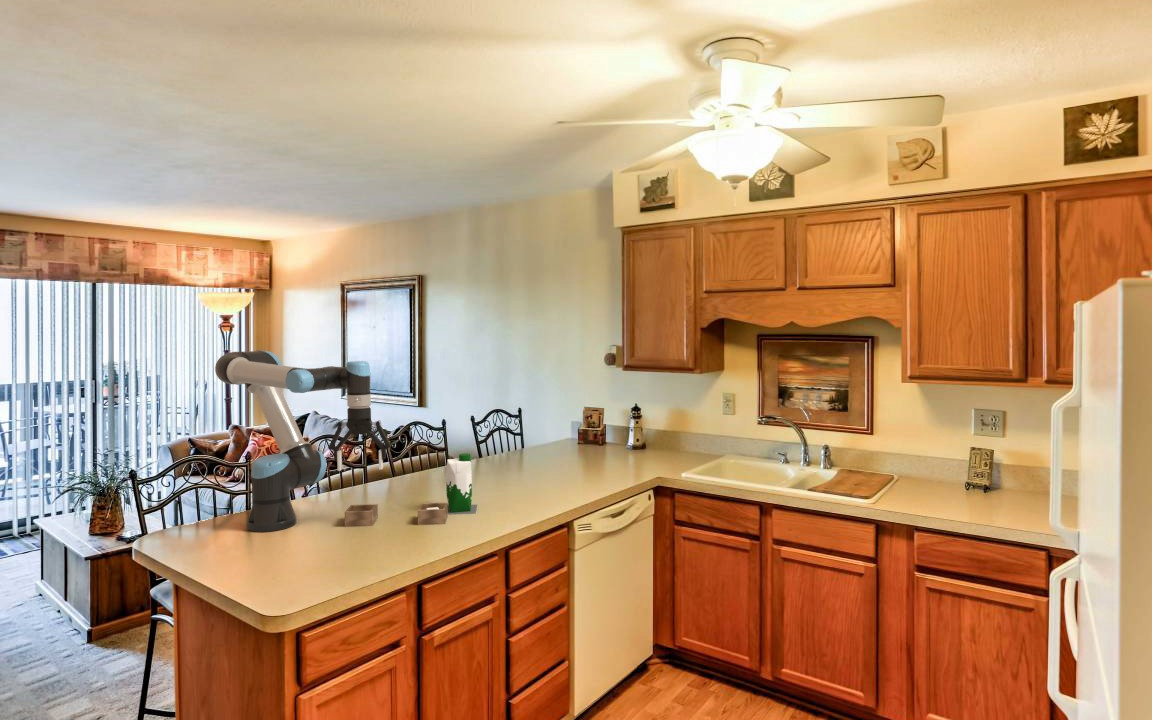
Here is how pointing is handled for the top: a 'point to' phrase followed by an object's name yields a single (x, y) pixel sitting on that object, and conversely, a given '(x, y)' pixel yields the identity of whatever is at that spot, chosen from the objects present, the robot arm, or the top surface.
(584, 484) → the top surface
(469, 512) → the coaster
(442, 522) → the crate
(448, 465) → the soya milk
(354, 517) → the crate
